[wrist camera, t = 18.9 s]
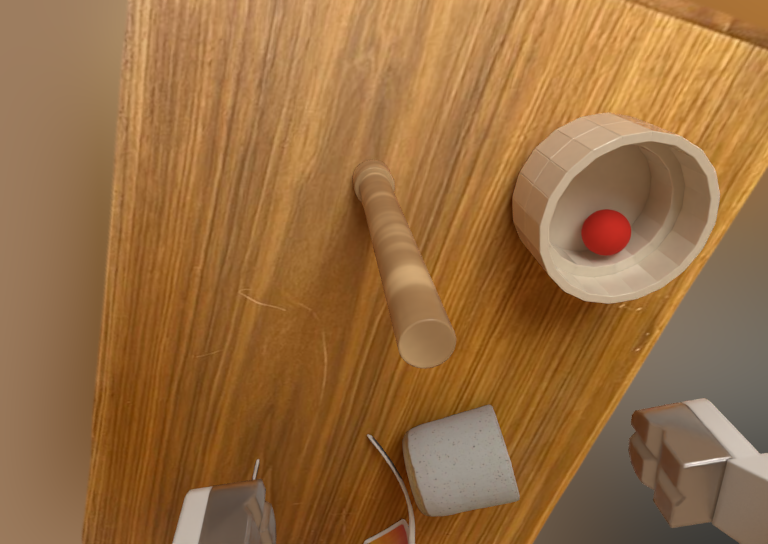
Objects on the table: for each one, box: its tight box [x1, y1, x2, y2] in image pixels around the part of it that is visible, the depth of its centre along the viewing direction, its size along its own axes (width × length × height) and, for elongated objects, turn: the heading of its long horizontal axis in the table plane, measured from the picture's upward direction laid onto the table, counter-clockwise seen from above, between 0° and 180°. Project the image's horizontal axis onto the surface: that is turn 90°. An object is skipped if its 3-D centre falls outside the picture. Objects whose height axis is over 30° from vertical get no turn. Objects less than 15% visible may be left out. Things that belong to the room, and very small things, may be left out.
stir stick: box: [353, 160, 456, 368], centre depth 27 cm, size 3×3×20 cm
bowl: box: [512, 113, 720, 304], centre depth 35 cm, size 11×11×6 cm
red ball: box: [581, 209, 631, 256], centre depth 37 cm, size 3×3×3 cm
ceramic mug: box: [402, 405, 520, 516], centre depth 45 cm, size 11×8×8 cm
